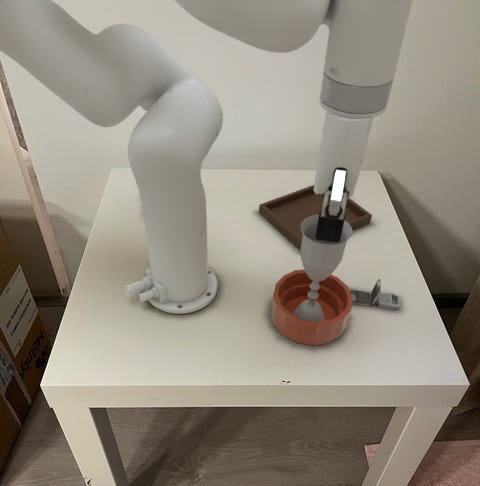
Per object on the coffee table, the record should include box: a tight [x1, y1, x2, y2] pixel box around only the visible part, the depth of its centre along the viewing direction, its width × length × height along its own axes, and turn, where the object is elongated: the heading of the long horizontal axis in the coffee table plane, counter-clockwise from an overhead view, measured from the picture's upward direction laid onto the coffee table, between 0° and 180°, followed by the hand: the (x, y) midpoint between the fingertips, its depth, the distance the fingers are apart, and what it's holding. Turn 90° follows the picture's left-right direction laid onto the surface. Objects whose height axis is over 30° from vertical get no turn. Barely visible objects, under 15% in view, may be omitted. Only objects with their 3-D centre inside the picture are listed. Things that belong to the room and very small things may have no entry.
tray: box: [258, 184, 373, 251], centre depth 99 cm, size 18×15×2 cm
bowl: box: [270, 268, 354, 346], centre depth 80 cm, size 13×13×5 cm
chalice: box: [294, 214, 354, 322], centre depth 75 cm, size 7×7×18 cm
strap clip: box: [350, 278, 401, 310], centre depth 83 cm, size 8×3×4 cm, turn 80°
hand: (330, 217), depth 66 cm, fingers open, 9 cm apart
